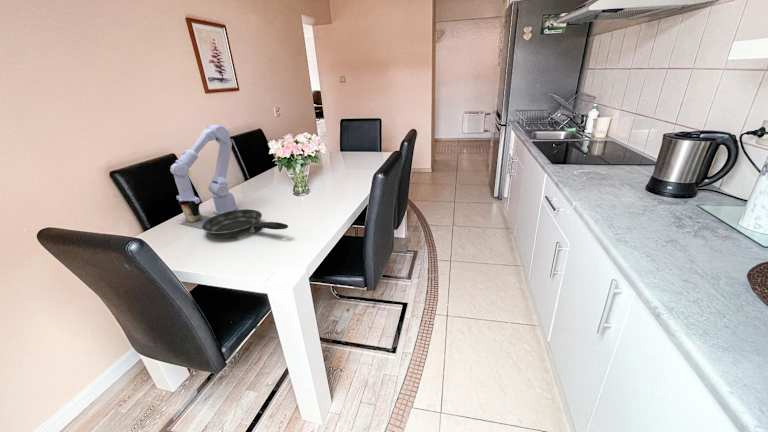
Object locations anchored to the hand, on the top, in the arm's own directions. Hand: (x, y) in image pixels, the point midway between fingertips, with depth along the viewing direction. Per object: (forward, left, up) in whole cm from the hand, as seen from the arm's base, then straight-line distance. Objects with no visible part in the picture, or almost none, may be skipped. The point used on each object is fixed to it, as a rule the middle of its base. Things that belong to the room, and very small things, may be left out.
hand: (193, 214), depth 153 cm
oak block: (0, 0, -2) cm, 2 cm away
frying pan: (-1, +34, -3) cm, 35 cm away
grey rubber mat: (0, +6, -3) cm, 7 cm away
